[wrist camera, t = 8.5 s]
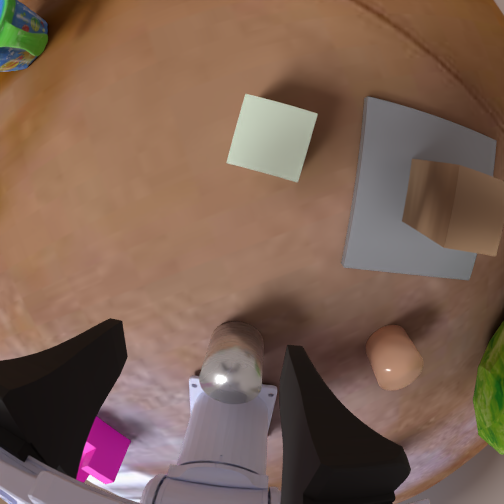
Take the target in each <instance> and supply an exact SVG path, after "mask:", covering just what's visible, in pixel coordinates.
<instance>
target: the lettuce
mask: <svg viewBox="0 0 504 504" xmlns="http://www.w3.org/2000/svg"><path fill="white" fill-rule="evenodd" d="M473 403H474V409H475V415H476V421H477V427H478V435H479V436H480V437H481V438H483V439H484V440H485V441H486V442H487V443H488V444H490V445H491V446H492V447H493V448H494V449H495V450H497V451H498V452H499V453H500V454H504V321H503V322H502V323H501V325H500V326H499V328H498V329H497V331H496V332H495V334H494V335H493V337H492V338H491V340H490V341H489V343H488V346H487V348H486V351H485V353H484V355H483V358H482V360H481V362H480V364H479V366H478V372H477V379H476V385H475V391H474V397H473Z"/></svg>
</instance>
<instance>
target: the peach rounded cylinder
mask: <svg viewBox="0 0 504 504" xmlns="http://www.w3.org/2000/svg"><path fill="white" fill-rule="evenodd" d="M366 354H367V356H368V359H369V361H370V364H371V366H372V369H373V371H374V374H375V376H376V379H377V382H378V384H379V386H380V387H381V388H383V389H385V390H398V389H401V388H404V387H406V386H408V385H409V384H411V383H412V382H413V381H414V380H415V379H416V378H417V377H418V376H419V375H420V373H421V371H422V369H423V359H422V357H421V355H420V354H419V352H418V351H417V349H416V347H415V346H414V344H413V343H412V341H411V339H410V338H409V336H408V335H407V333H406V332H405V330H404V329H403V328H402V327H400V326H398V325H388V326H384V327H382V328H380V329H378V330H377V331H375V332H374V333H373V334H372V335H371V336H370V338H369V339H368V341H367V343H366Z"/></svg>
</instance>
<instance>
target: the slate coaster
mask: <svg viewBox="0 0 504 504" xmlns="http://www.w3.org/2000/svg"><path fill="white" fill-rule="evenodd" d="M495 153H496V140H494V139H492V138H489V137H487V136H485V135H483V134H480V133H478V132H476V131H473V130H471V129H469V128H466V127H464V126H461V125H459V124H456V123H454V122H451V121H448V120H445V119H443V118H440V117H437V116H434V115H431V114H428V113H425V112H422V111H419V110H416V109H413V108H409V107H406V106H403V105H399V104H396V103H392V102H388V101H385V100H381V99H377V98H373V97H369V96H368V97H366V98H364V109H363V120H362V131H361V140H360V149H359V157H358V165H357V173H356V180H355V187H354V194H353V200H352V206H351V213H350V218H349V224H348V230H347V235H346V241H345V246H344V251H343V256H342V261H341V264H342V266H343V267H345V268H354V269H363V270H373V271H382V272H392V273H402V274H411V275H421V276H431V277H441V278H451V279H461V280H469V279H470V276H471V273H472V270H473V266H474V263H475V259H476V256H477V253H472V252H466V251H460V250H454V249H448V248H443V247H442V246H440V245H439V244H437V243H436V242H434V241H433V240H431V239H429V238H428V237H426V236H425V235H423V234H422V233H420V232H418V231H417V230H415V229H414V228H412V227H410V226H409V225H407V224H405V223H404V222H402V217H403V212H404V207H405V201H406V195H407V189H408V183H409V176H410V169H411V162H412V159H419V160H427V161H435V162H443V163H450V164H457V165H461V166H464V167H467V168H470V169H473V170H476V171H479V172H481V173H484V174H487V175H490V176H492V177H493V172H494V163H495Z"/></svg>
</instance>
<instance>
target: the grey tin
mask: <svg viewBox="0 0 504 504" xmlns="http://www.w3.org/2000/svg"><path fill="white" fill-rule="evenodd" d="M263 349H264V341H263V337H262V335H261V334H260V332H259V331H258V330H257V329H256V328H255V327H253V326H252V325H250V324H247V323H244V322H240V321H231V322H226V323H224V324H221V325H220V326H218V327H217V328H216V329H215V330H214V332H213V334H212V336H211V340H210V343H209V346H208V350H207V353H206V356H205V359H204V363H203V366H202V369H201V373H200V376H199V383H200V386H201V388H202V389H203V391H204V392H205V393H206V394H207V395H208V396H209V397H211V398H213V399H214V400H217V401H219V402H222V403H226V404H242V403H246V402H249V401H251V400H253V399H254V398H256V397H257V396H258V394H259V393H260V391H261V388H262V371H263Z"/></svg>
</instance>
